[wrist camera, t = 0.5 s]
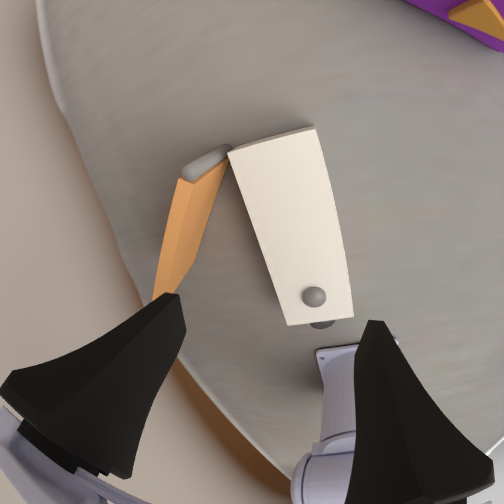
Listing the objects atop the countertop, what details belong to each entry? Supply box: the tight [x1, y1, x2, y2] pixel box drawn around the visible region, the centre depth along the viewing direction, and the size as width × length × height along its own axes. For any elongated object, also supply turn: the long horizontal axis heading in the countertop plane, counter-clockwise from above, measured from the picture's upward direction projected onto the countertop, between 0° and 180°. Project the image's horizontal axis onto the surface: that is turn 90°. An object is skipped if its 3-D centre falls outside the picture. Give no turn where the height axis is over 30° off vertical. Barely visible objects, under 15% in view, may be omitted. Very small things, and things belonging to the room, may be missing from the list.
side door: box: [152, 144, 232, 301], centre depth 17 cm, size 10×1×6 cm, turn 158°
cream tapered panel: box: [227, 125, 354, 329], centre depth 18 cm, size 14×5×3 cm, turn 19°
